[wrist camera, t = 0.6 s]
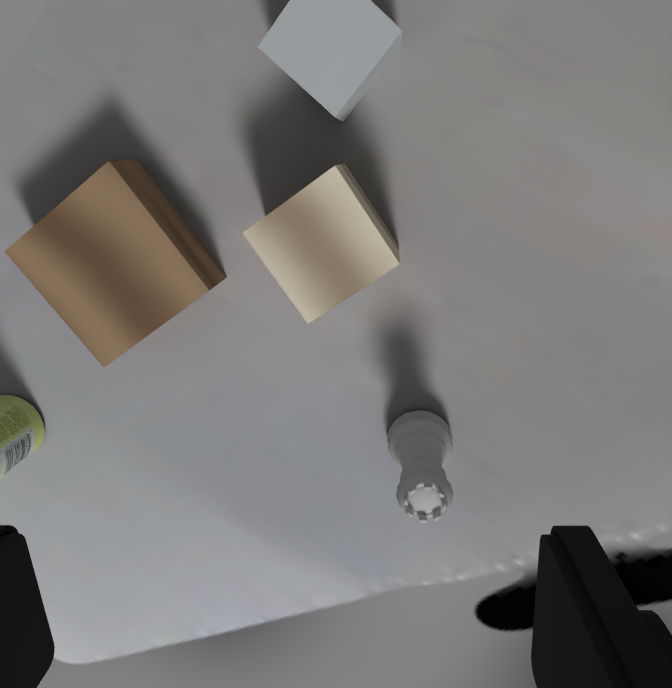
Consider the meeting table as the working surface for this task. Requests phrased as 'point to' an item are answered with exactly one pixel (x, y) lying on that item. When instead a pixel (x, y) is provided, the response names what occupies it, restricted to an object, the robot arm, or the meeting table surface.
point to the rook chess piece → (422, 463)
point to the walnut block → (115, 259)
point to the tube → (18, 432)
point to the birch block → (325, 243)
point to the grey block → (333, 49)
